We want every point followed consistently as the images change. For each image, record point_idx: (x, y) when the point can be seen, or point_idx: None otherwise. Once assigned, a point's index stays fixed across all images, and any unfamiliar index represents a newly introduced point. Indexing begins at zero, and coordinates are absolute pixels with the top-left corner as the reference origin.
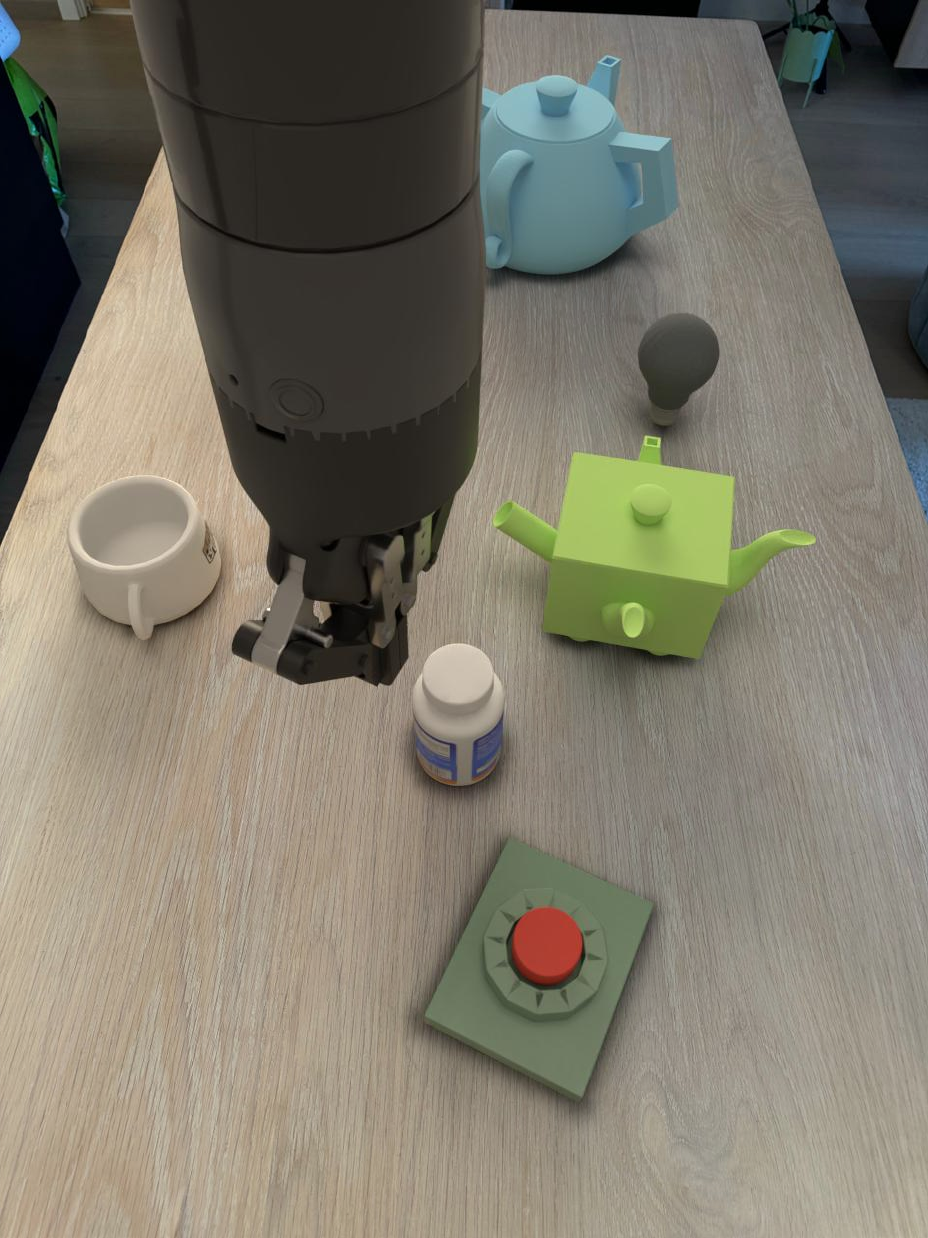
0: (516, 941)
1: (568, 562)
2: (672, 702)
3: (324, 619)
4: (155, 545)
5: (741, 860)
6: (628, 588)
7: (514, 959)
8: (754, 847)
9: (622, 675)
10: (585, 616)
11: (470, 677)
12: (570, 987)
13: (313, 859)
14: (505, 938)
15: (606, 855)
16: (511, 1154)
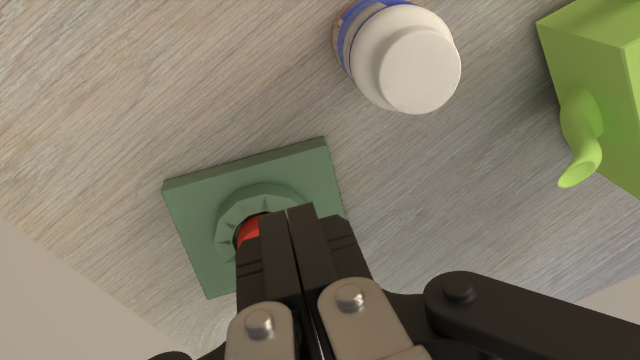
0: (248, 236)
1: (622, 65)
2: (524, 154)
3: (226, 339)
4: None
5: (427, 265)
6: (617, 120)
7: (240, 232)
8: (441, 266)
9: (528, 105)
10: (569, 69)
11: (423, 89)
12: None
13: (188, 4)
14: (249, 214)
15: (369, 196)
16: (149, 275)
